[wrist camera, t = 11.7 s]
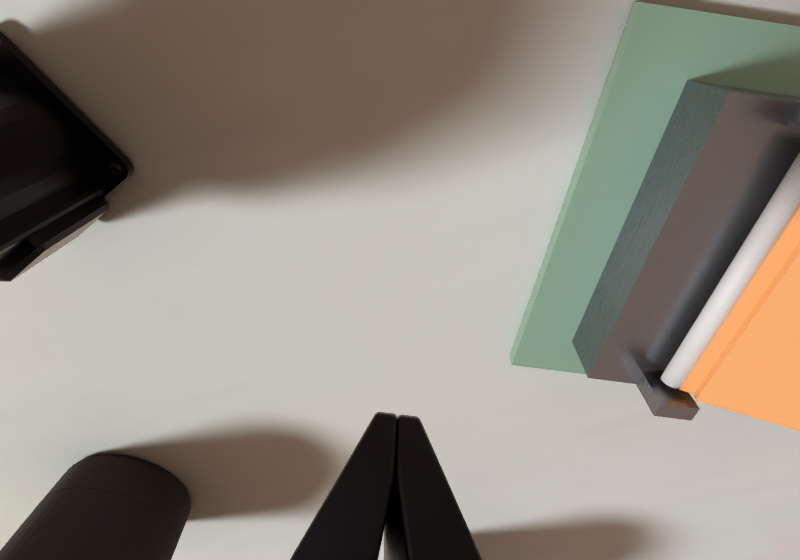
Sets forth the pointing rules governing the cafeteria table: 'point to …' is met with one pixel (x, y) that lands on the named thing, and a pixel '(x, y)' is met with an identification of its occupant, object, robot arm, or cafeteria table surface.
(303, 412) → the cafeteria table surface
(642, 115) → the green flat slab
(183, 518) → the pen holder
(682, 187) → the grey stand
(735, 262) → the orange upright panel
